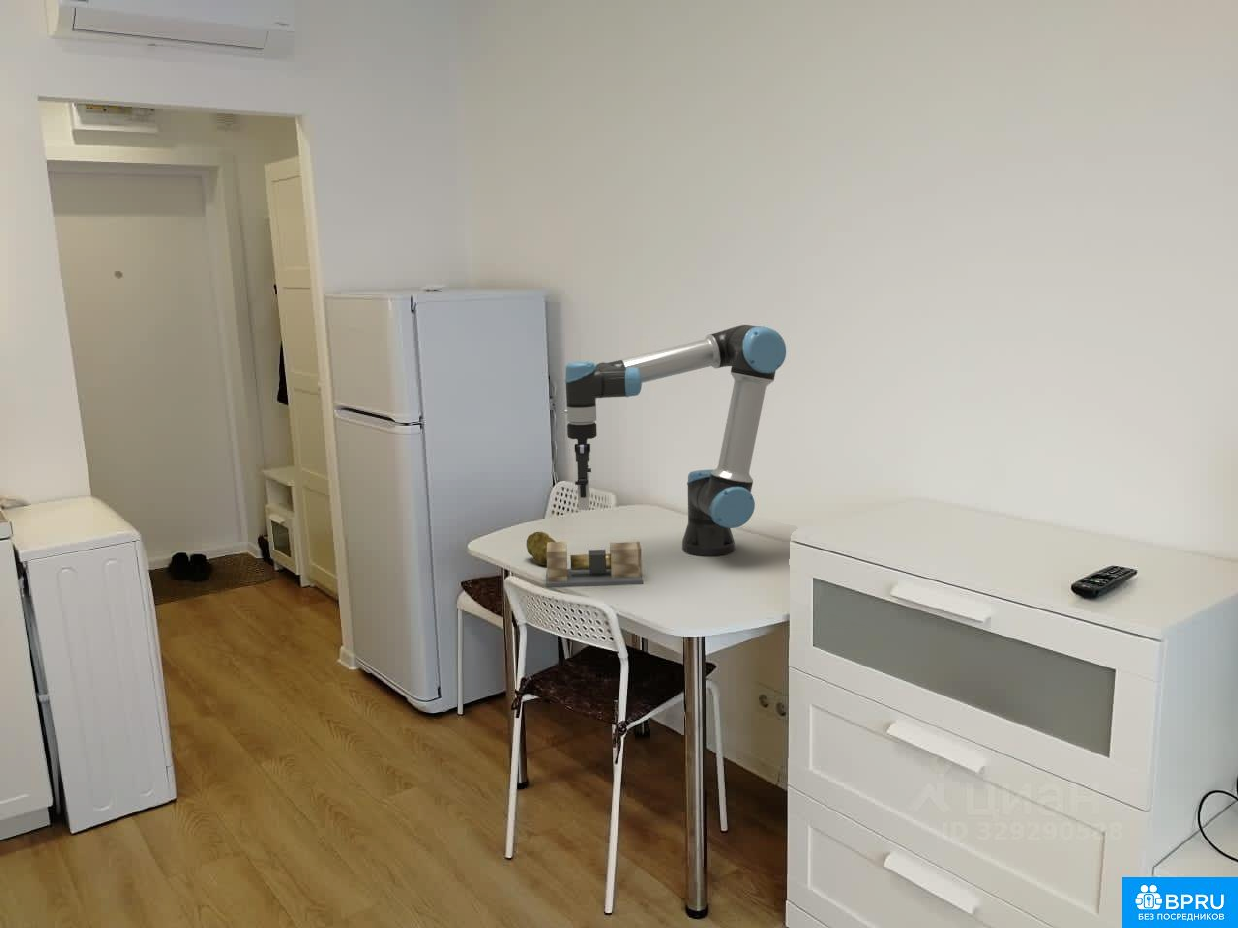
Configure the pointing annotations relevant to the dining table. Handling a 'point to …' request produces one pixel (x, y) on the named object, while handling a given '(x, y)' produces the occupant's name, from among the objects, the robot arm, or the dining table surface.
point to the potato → (538, 547)
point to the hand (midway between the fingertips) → (584, 503)
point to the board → (592, 579)
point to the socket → (556, 561)
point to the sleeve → (626, 560)
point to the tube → (592, 561)
